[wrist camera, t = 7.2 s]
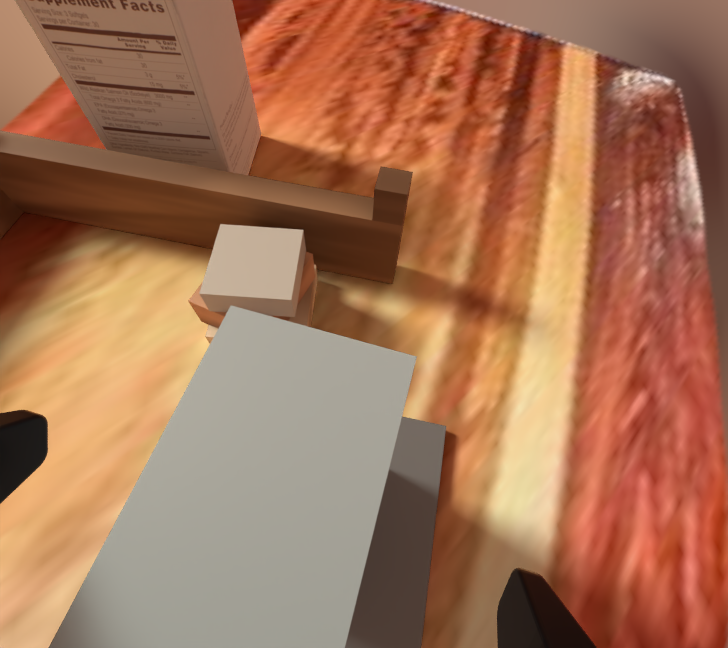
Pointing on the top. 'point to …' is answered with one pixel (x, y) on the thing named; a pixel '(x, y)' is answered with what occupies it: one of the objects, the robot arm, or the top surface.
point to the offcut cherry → (217, 317)
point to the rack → (200, 202)
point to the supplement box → (155, 76)
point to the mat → (401, 544)
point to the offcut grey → (255, 270)
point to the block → (252, 498)
